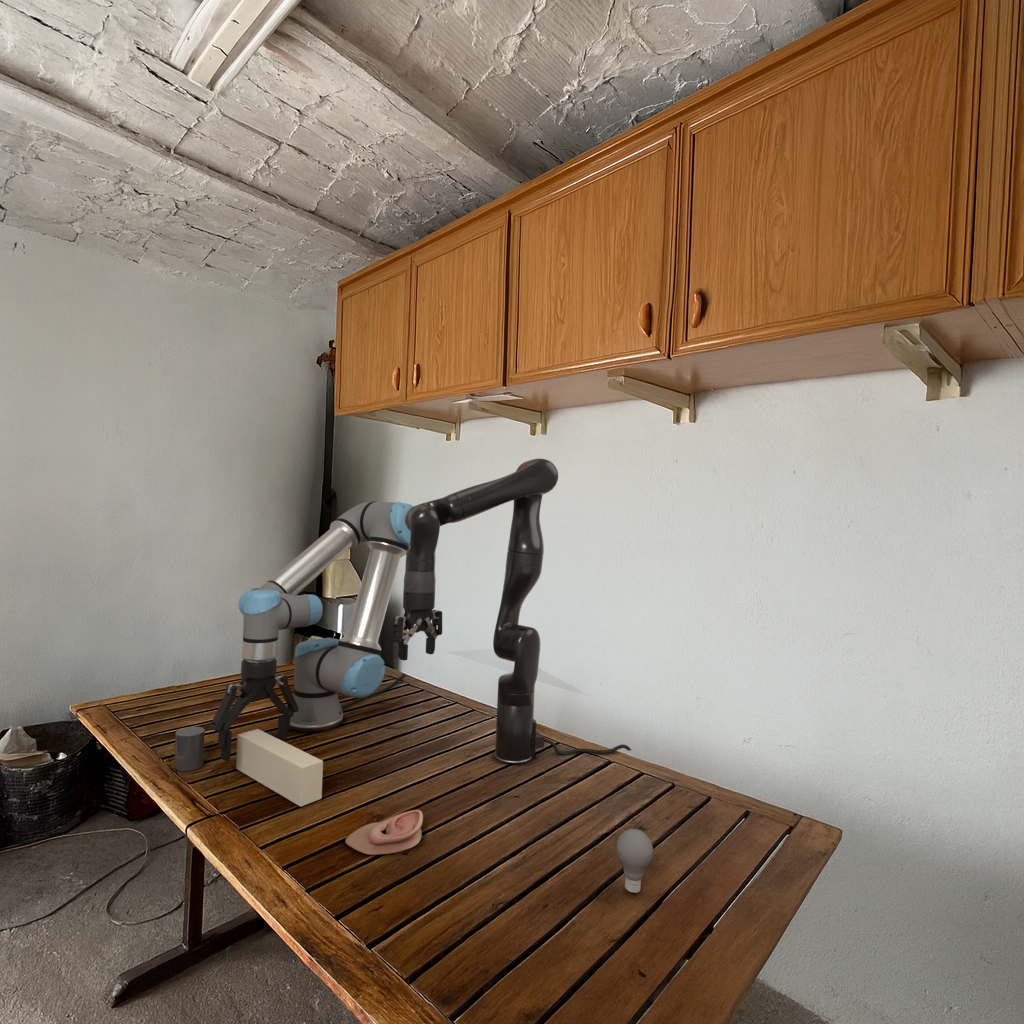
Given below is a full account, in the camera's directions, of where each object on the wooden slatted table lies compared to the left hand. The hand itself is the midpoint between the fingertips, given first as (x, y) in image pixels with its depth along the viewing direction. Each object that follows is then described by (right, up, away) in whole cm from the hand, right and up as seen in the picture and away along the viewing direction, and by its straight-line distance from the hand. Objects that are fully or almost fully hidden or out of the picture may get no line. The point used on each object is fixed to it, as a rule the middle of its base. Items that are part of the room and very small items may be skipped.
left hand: (254, 751), depth 144 cm
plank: (+7, -5, -5) cm, 10 cm away
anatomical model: (+35, -7, -26) cm, 44 cm away
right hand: (+36, +20, +7) cm, 42 cm away
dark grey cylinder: (-16, -4, +1) cm, 16 cm away
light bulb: (+79, -9, -39) cm, 88 cm away
